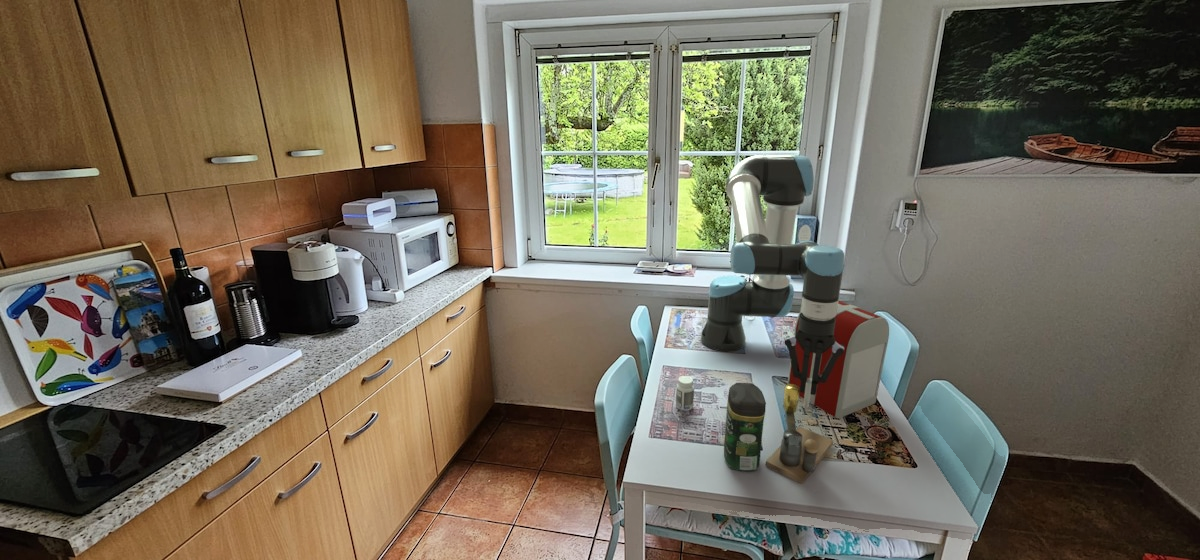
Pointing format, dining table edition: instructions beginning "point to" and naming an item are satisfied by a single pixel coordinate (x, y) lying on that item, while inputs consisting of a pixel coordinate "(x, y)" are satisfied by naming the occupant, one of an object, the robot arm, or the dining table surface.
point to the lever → (791, 419)
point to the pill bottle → (685, 393)
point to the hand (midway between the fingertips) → (806, 404)
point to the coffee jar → (744, 426)
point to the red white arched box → (849, 362)
